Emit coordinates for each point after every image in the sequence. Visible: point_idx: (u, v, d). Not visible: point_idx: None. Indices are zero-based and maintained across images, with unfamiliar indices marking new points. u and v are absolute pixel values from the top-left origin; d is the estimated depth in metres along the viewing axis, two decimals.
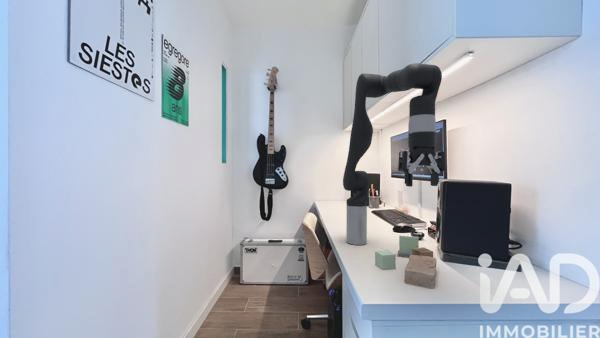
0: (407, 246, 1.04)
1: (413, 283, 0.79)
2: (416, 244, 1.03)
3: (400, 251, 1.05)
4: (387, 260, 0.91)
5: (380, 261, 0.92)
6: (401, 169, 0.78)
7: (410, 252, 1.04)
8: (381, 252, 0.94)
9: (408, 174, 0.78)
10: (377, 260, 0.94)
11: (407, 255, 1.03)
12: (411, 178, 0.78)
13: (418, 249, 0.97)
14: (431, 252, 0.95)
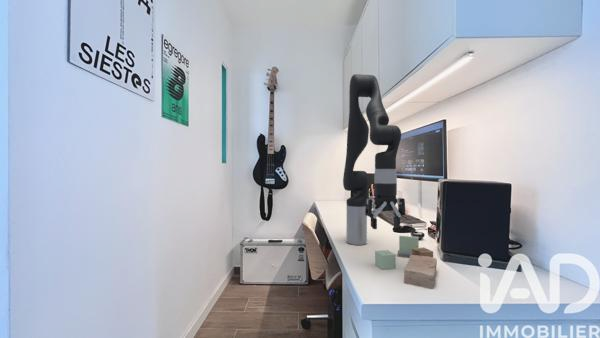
0: (407, 246, 1.04)
1: (412, 283, 0.79)
2: (416, 244, 1.03)
3: (400, 251, 1.05)
4: (387, 260, 0.91)
5: (380, 261, 0.92)
6: (367, 214, 0.92)
7: (410, 252, 1.04)
8: (381, 252, 0.94)
9: (373, 219, 0.92)
10: (377, 260, 0.94)
11: (407, 255, 1.03)
12: (376, 222, 0.91)
13: (418, 249, 0.97)
14: (431, 252, 0.95)
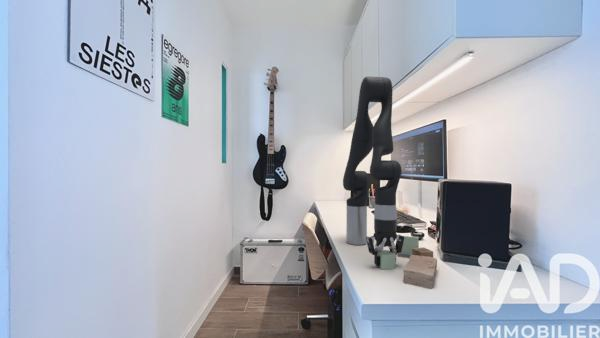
0: (407, 246, 1.04)
1: (411, 283, 0.79)
2: (416, 244, 1.03)
3: None
4: (387, 260, 0.91)
5: (380, 261, 0.92)
6: (371, 253, 0.92)
7: (410, 252, 1.04)
8: (381, 252, 0.94)
9: (377, 256, 0.92)
10: None
11: (407, 255, 1.03)
12: None
13: (418, 249, 0.97)
14: (431, 252, 0.95)
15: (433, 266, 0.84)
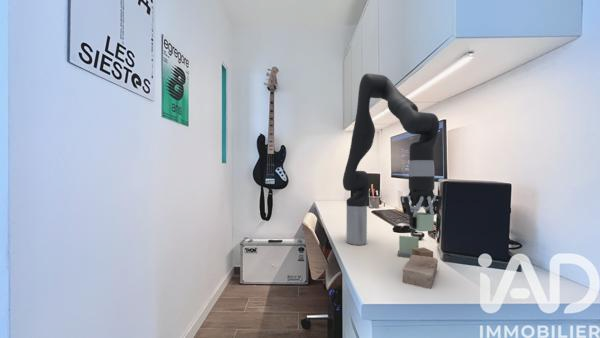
0: (407, 246, 1.04)
1: (410, 283, 0.80)
2: (416, 244, 1.03)
3: (400, 251, 1.05)
4: (425, 221, 0.83)
5: (417, 222, 0.83)
6: (406, 213, 0.84)
7: (410, 252, 1.04)
8: (417, 213, 0.85)
9: (413, 217, 0.84)
10: None
11: (407, 255, 1.03)
12: (416, 221, 0.84)
13: (418, 249, 0.97)
14: (431, 252, 0.95)
15: (433, 266, 0.84)
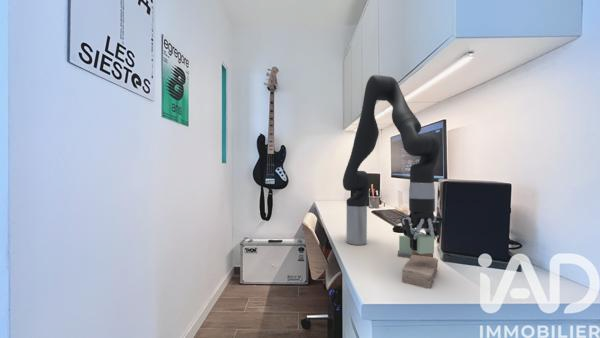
0: (407, 246, 1.04)
1: (409, 282, 0.80)
2: None
3: (400, 251, 1.05)
4: (425, 243, 0.83)
5: (417, 244, 0.83)
6: (407, 235, 0.84)
7: (410, 252, 1.04)
8: None
9: (413, 239, 0.84)
10: None
11: (407, 255, 1.03)
12: (416, 243, 0.84)
13: None
14: None
15: (433, 266, 0.84)
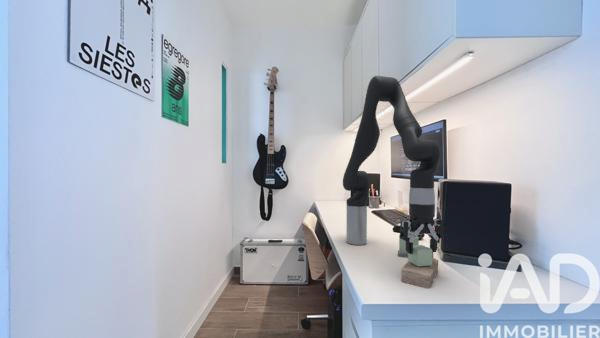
0: None
1: (409, 283, 0.80)
2: (416, 244, 1.03)
3: (400, 251, 1.05)
4: (423, 255, 0.83)
5: (415, 257, 0.84)
6: (402, 238, 0.83)
7: None
8: (415, 247, 0.86)
9: (409, 243, 0.84)
10: (411, 256, 0.86)
11: (407, 255, 1.03)
12: (412, 246, 0.83)
13: None
14: None
15: (432, 267, 0.84)
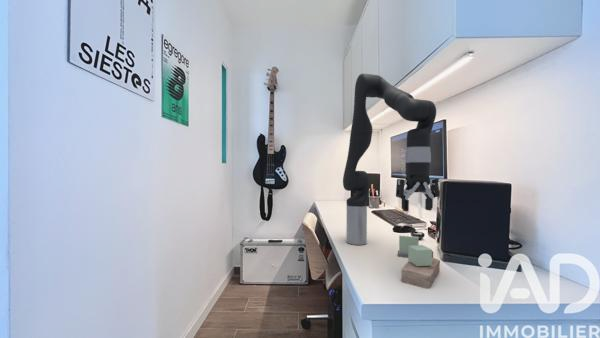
0: (407, 246, 1.04)
1: (408, 282, 0.80)
2: (416, 244, 1.03)
3: (400, 251, 1.05)
4: (422, 255, 0.83)
5: (415, 257, 0.84)
6: (398, 196, 0.85)
7: None
8: (415, 247, 0.86)
9: (405, 200, 0.86)
10: (411, 255, 0.86)
11: (407, 255, 1.03)
12: (408, 204, 0.85)
13: None
14: None
15: (433, 267, 0.84)
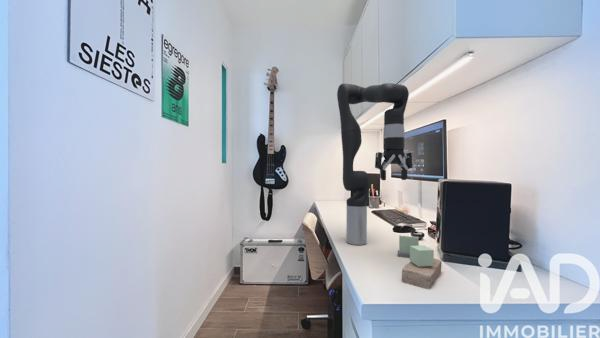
0: (407, 246, 1.04)
1: (409, 283, 0.80)
2: (416, 244, 1.03)
3: (400, 251, 1.05)
4: (424, 256, 0.83)
5: (416, 257, 0.84)
6: (377, 166, 0.99)
7: None
8: (417, 247, 0.86)
9: (382, 170, 0.99)
10: (412, 256, 0.86)
11: (407, 255, 1.03)
12: (385, 173, 0.99)
13: None
14: None
15: (434, 267, 0.83)
